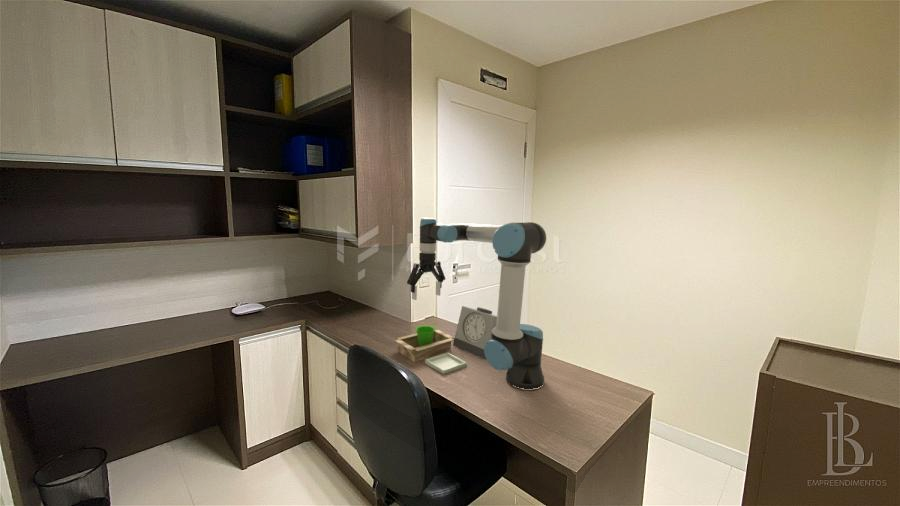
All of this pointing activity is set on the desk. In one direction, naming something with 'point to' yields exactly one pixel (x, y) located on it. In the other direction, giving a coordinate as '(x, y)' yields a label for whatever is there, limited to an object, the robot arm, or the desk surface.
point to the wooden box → (411, 341)
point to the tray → (445, 363)
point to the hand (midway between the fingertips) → (426, 297)
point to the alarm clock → (474, 330)
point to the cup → (425, 335)
